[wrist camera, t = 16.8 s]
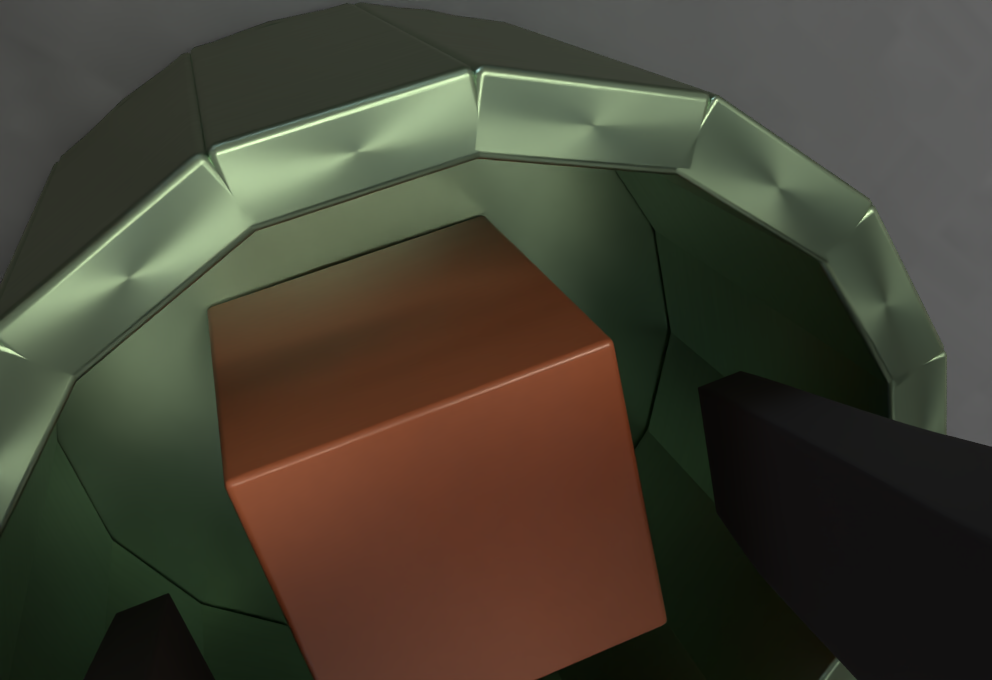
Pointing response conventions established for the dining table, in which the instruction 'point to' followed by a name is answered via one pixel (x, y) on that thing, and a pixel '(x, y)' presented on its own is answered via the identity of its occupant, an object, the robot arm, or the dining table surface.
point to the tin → (381, 224)
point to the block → (435, 464)
